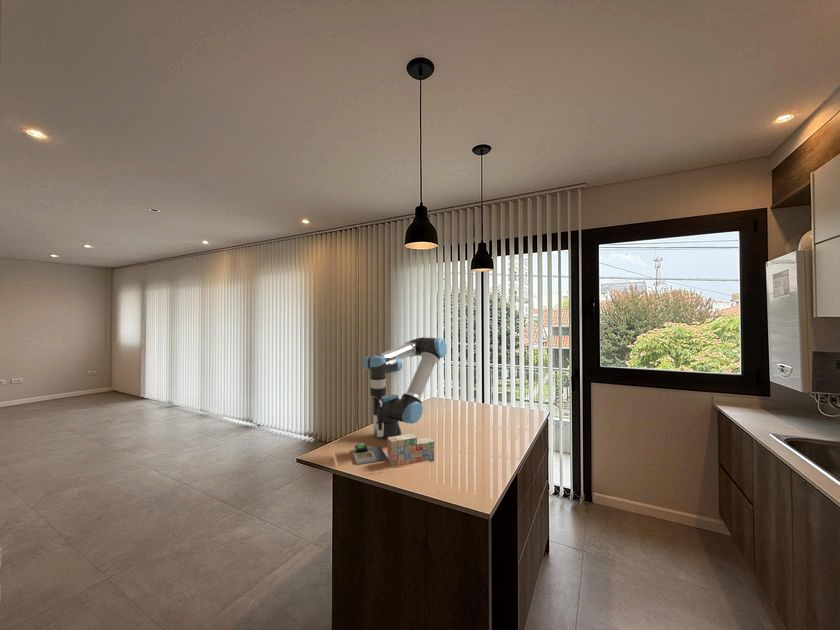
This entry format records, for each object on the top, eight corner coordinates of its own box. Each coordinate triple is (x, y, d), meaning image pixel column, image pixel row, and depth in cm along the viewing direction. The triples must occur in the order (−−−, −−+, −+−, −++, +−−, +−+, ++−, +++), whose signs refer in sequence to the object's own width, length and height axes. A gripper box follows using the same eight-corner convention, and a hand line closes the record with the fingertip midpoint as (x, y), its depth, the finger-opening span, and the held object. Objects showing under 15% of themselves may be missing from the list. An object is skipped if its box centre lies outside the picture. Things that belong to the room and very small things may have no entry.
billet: (382, 433, 171) (382, 413, 171) (384, 436, 166) (384, 416, 166) (372, 434, 169) (372, 414, 169) (374, 437, 165) (374, 417, 165)
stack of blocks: (429, 456, 165) (429, 431, 165) (434, 461, 159) (434, 434, 159) (387, 463, 156) (387, 436, 156) (391, 469, 150) (391, 441, 151)
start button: (364, 448, 170) (364, 442, 170) (365, 451, 166) (365, 445, 166) (356, 449, 168) (356, 443, 168) (358, 452, 165) (358, 446, 165)
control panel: (380, 448, 174) (380, 441, 174) (389, 462, 157) (389, 455, 157) (350, 452, 169) (350, 445, 169) (356, 467, 152) (356, 459, 152)
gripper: (367, 384, 175) (367, 429, 175) (374, 391, 158) (375, 441, 158) (381, 383, 178) (381, 427, 177) (390, 390, 161) (390, 439, 161)
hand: (378, 434), depth 168 cm, fingers closed on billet, 5 cm apart
